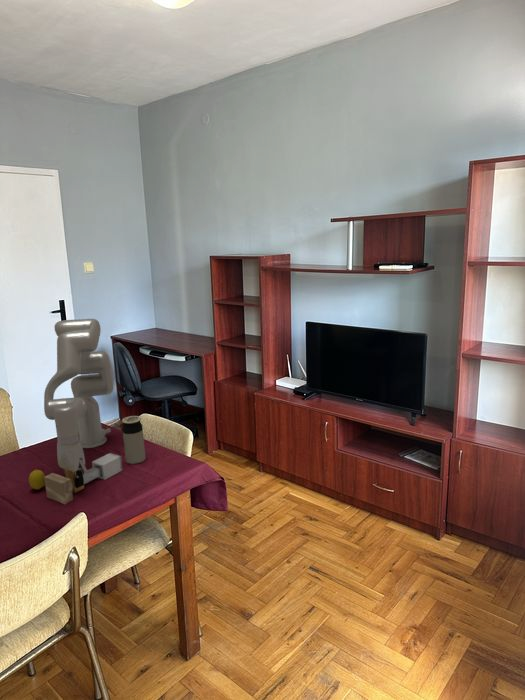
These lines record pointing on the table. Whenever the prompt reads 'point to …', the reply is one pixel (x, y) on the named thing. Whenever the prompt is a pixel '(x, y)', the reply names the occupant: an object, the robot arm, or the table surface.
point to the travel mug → (133, 439)
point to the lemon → (37, 479)
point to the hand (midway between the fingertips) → (75, 484)
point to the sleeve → (109, 465)
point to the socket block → (58, 488)
